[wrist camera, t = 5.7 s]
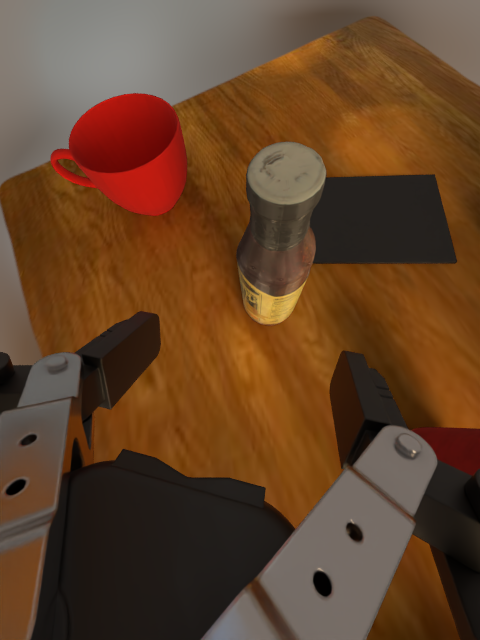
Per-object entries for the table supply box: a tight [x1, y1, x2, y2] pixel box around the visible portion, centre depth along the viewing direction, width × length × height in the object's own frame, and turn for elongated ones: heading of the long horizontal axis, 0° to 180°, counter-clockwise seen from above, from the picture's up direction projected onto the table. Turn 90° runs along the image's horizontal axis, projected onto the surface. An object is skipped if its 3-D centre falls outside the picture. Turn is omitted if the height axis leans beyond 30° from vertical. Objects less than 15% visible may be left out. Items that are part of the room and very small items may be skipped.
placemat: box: [310, 175, 457, 263], centre depth 34 cm, size 20×14×1 cm
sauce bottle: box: [236, 142, 326, 326], centre depth 22 cm, size 6×6×20 cm
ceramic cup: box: [51, 93, 187, 216], centre depth 34 cm, size 13×17×10 cm
